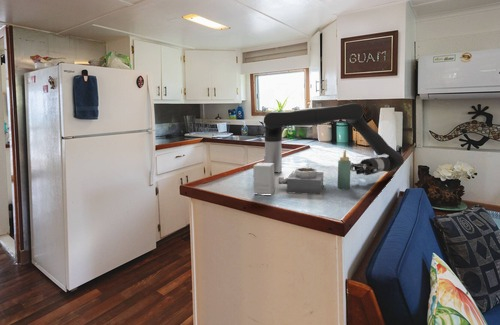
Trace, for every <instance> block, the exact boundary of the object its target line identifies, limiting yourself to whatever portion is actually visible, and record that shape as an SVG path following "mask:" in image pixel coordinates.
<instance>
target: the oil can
mask: <svg viewBox="0 0 500 325" xmlns="http://www.w3.org/2000/svg"><path fill="white" fill-rule="evenodd" d="M351 163H352V162H351V160H350V157H349V156H347V150H346V149H344V150H343V156H340V158H339V160H338V161H337V189H338V190H339V189H340V190H349V189H351V170H350V169H351Z"/></svg>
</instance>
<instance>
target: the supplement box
mask: <svg viewBox="0 0 500 325" xmlns="http://www.w3.org/2000/svg"><path fill="white" fill-rule="evenodd" d="M252 168H253V194H254V193H257V194H272V193H273V192H274V191H275V190H276V187H275V183H276V182H275V173H274V163H264V162H257V163H255V164H254V165H253V167H252ZM274 193H275V192H274ZM274 193H273V194H274ZM273 194H272V195H273Z"/></svg>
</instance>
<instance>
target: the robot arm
mask: <svg viewBox="0 0 500 325" xmlns="http://www.w3.org/2000/svg"><path fill="white" fill-rule="evenodd" d="M364 113H365V110H364V107H363V105H361V104H360V103H356V102H351V103H346V104H342V105H334V106H322V107H321V106H319V107H306V108H302V109H296V110H293V111H285V112H284V111H281V112H280V111H269V112H267V113H266V114H265V116H264V117H263V124H264V125H265V128H264V129H265V130H264V155H263V163H274V172H278V173H281V171H282V170H283V169H282V168H283V167H282V166H283V165H282V164H283V163H282V162H283V161H282V158H283V157H282V154H283V153H282V143H283V142H282V135H283V132H282V131H283V127H284V128H285V127H309V126H319V125H323V124H327V123H329V122H330V123H331V122H333V121H342V120H343V121H344V120H345V121H346V122H347V123H348V124H349V125H350V126H351V127H353V128H354V129H355V130H356V131H357V133H358V134H360V135H361V136H362V138H363V139H364V140H365V141H366V142H367V144H368V145H369V147H370V148H371V149H372V150H373V151H374V153H375V154H376V155H377V156H379V157H371V158H365V159H362V160H361V161H360V162H357V163H355V162H354V163H353V162H351V169H350V172H355V173H356V175H362V174H363V175H364V176H370V175H374V174H375V175H376V174H379V173H381V172H385V173H388V172H389V173H390V172H392V171H394V170H396V169H398V168H399V167H401V166H402V165H403V164H404V162H405V159H404V157H403V155H402V154H401V153H400V152H398V151H397V150H396V149H395V148H392V147H391V146H390V145H389V144H388V143H387V142H386V140H385V139H384V138H383V137H382V136H381V134H379V133H378V132H377V131H376V130H374V129H373V128H372V127H371V126H370V125H369V124H368V122H366V120H365V119H364V116H363V115H364ZM384 154H385V155H387V156H386V157H385V156H382V155H384Z"/></svg>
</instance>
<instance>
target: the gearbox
mask: <svg viewBox="0 0 500 325" xmlns="http://www.w3.org/2000/svg"><path fill="white" fill-rule="evenodd" d="M277 182H278V185H286V193H287V192H295V193H294V194H302V193H307V194H306V195H320V194H321V195H322V191H323V187H324V171H317V169H316V168H313V167H300V168H296V169H295V170H292V172H291V173H290V174H289V176H288V177H278V181H277Z"/></svg>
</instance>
